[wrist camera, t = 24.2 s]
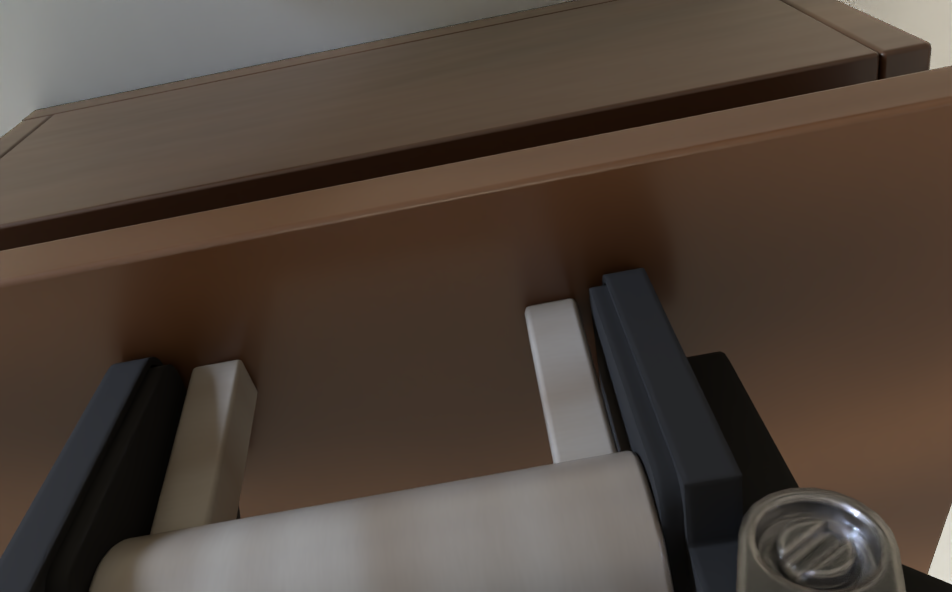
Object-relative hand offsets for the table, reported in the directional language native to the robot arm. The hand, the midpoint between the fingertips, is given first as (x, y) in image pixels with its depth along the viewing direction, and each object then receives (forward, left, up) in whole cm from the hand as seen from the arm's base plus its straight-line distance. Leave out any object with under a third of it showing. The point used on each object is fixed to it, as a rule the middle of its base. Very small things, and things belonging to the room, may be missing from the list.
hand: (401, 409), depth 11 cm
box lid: (+3, -4, -2) cm, 5 cm away
